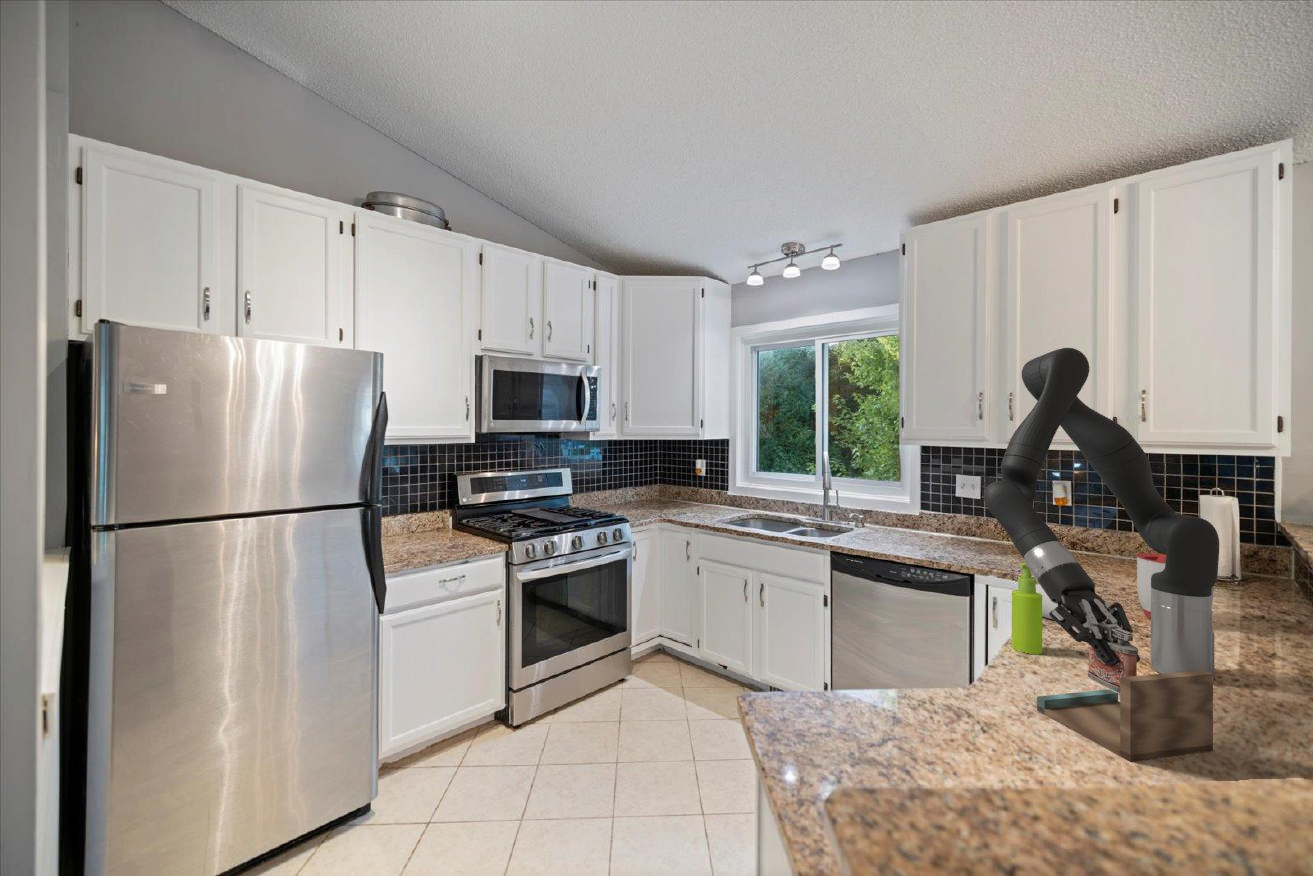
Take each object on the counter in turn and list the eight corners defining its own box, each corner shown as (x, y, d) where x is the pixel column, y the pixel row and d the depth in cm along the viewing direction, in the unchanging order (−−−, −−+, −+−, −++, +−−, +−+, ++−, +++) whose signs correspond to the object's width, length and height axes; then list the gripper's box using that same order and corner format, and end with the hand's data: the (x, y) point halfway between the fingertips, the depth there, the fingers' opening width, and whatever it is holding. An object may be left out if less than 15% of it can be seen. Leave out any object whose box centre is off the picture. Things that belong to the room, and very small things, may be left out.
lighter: (1081, 675, 96) (1082, 618, 96) (1099, 674, 96) (1100, 617, 96) (1124, 696, 88) (1125, 634, 88) (1144, 696, 88) (1144, 634, 88)
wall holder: (1109, 702, 101) (1109, 637, 101) (1213, 750, 86) (1213, 673, 86) (1036, 710, 98) (1037, 643, 98) (1130, 761, 82) (1130, 681, 82)
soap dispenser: (1052, 656, 124) (1052, 567, 124) (1018, 653, 125) (1018, 565, 125) (1039, 646, 129) (1039, 561, 129) (1007, 644, 131) (1007, 560, 131)
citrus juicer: (1153, 628, 143) (1153, 551, 143) (1125, 609, 159) (1125, 540, 159) (1232, 636, 137) (1232, 556, 137) (1195, 616, 153) (1195, 544, 154)
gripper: (1038, 562, 98) (1105, 656, 86) (1103, 559, 101) (1177, 650, 89) (1013, 584, 103) (1073, 676, 91) (1075, 580, 106) (1142, 670, 94)
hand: (1124, 663), depth 90 cm, fingers closed on lighter, 3 cm apart
